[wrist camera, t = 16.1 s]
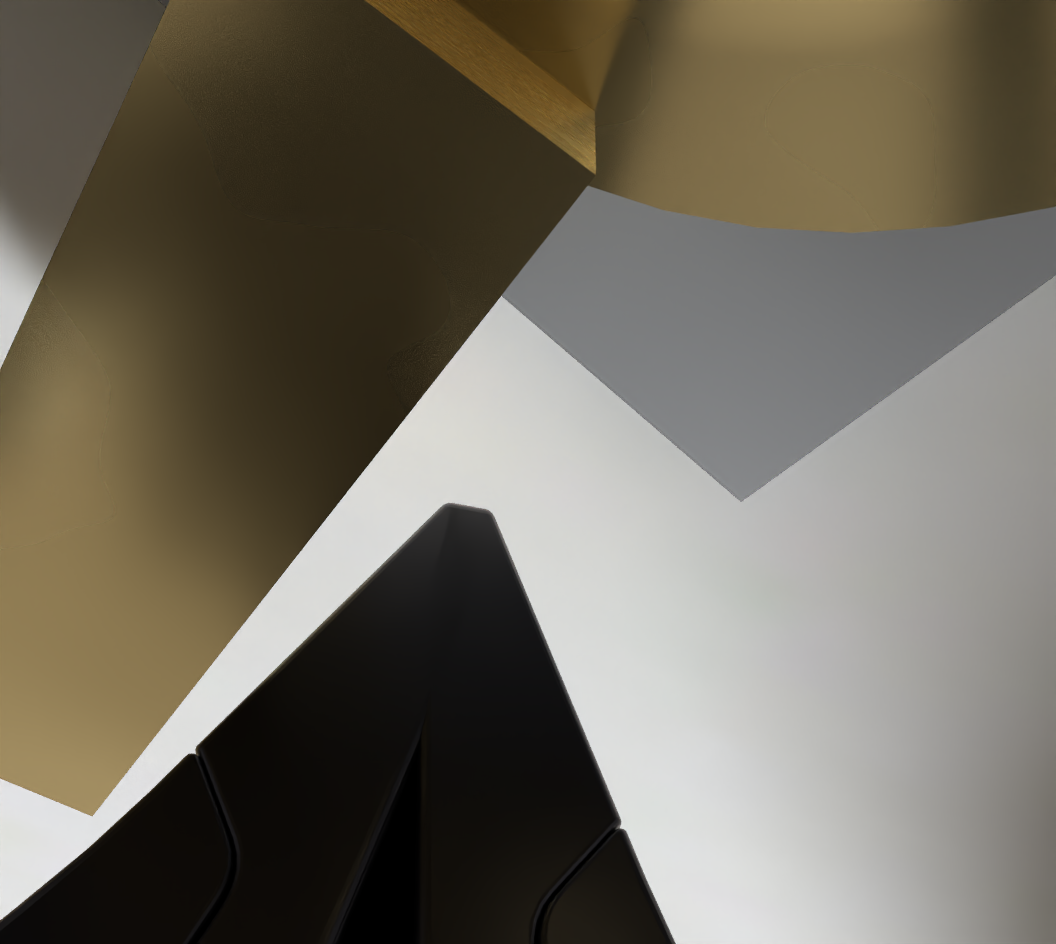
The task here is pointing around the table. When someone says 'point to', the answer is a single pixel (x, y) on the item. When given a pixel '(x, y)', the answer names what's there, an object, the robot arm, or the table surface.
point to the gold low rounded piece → (401, 272)
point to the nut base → (766, 318)
